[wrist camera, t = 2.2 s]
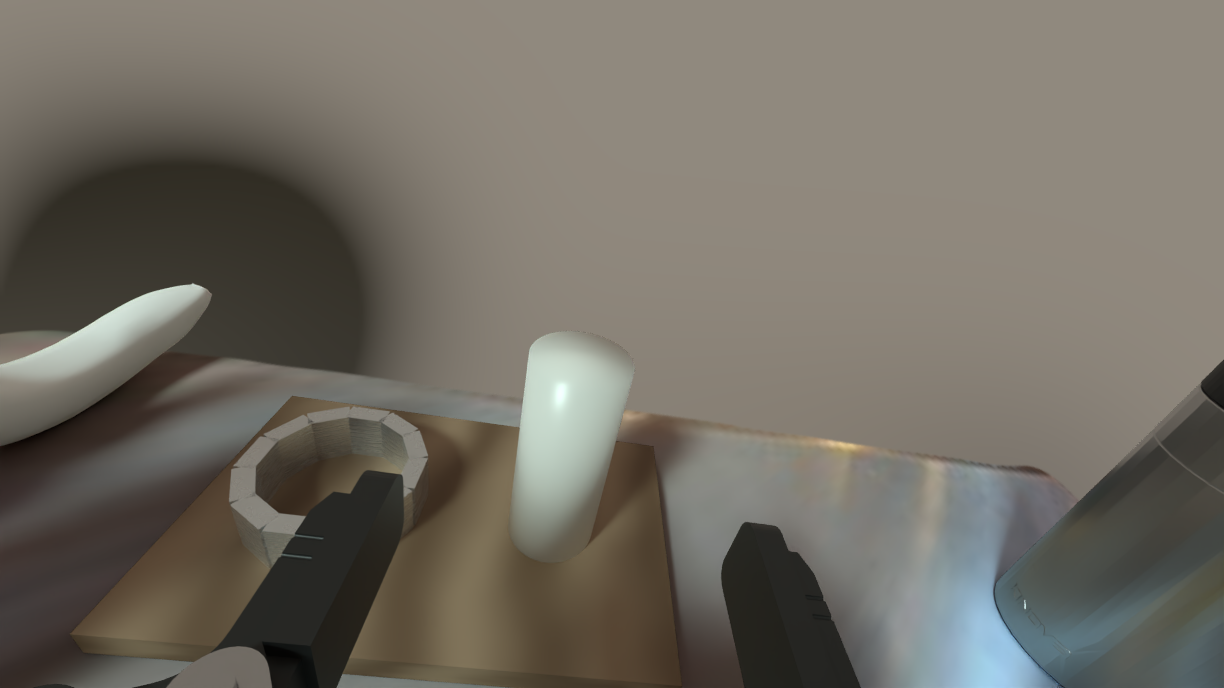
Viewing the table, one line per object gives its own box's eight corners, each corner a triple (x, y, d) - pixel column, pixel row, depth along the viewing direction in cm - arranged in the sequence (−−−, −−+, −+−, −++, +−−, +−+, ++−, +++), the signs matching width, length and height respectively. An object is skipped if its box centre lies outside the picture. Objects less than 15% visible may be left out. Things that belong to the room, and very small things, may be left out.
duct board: (648, 460, 37) (653, 446, 36) (673, 700, 23) (681, 685, 22) (295, 412, 34) (292, 395, 33) (83, 652, 20) (69, 634, 19)
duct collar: (444, 453, 31) (445, 419, 30) (391, 582, 24) (389, 544, 22) (302, 434, 30) (295, 398, 29) (198, 563, 23) (181, 522, 21)
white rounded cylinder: (593, 496, 31) (632, 339, 25) (590, 567, 26) (637, 399, 20) (515, 486, 30) (536, 324, 24) (500, 557, 26) (521, 381, 20)
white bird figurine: (229, 344, 39) (181, 158, 31) (-82, 546, 22) (-338, 257, 15) (169, 332, 39) (106, 142, 31) (-189, 527, 22) (-501, 224, 15)
